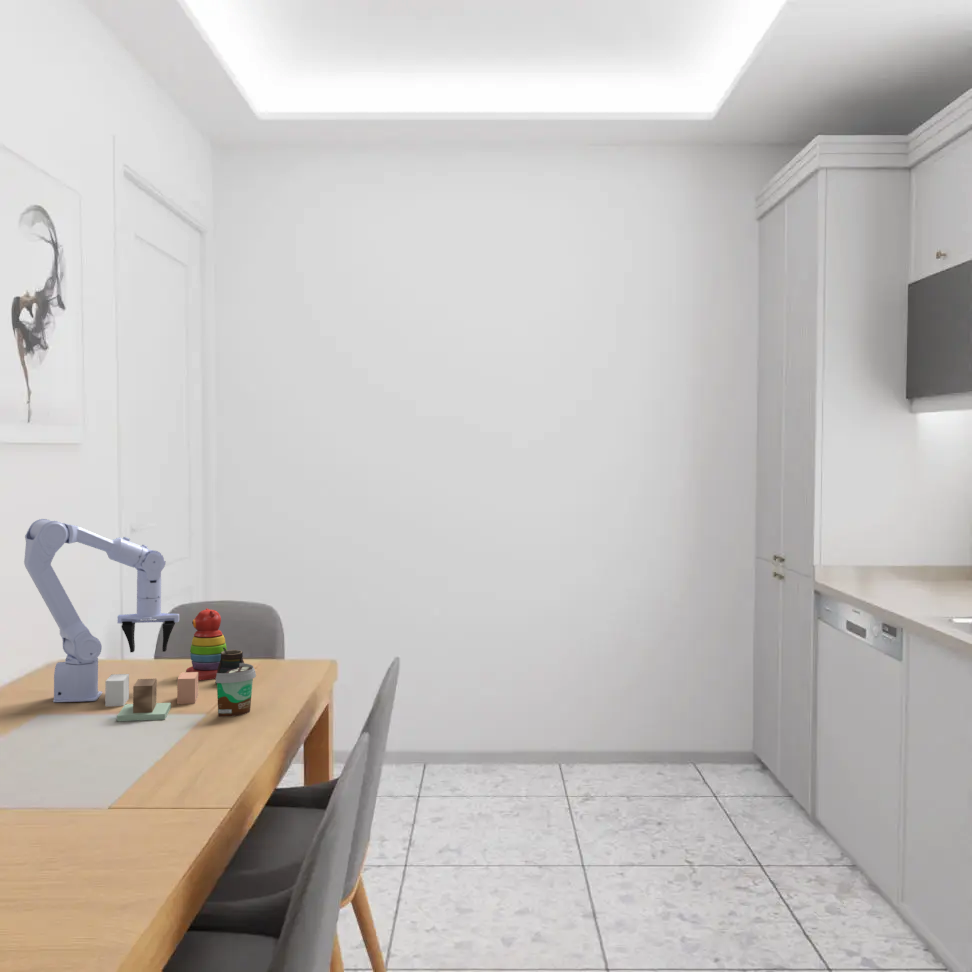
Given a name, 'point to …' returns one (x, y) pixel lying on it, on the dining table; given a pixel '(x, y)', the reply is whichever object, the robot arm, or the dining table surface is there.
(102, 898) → the dining table surface
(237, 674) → the food container
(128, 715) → the sage green board
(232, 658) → the mate gourd
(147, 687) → the walnut brick
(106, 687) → the pale grey brick
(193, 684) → the terracotta brick
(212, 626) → the stacking bear
